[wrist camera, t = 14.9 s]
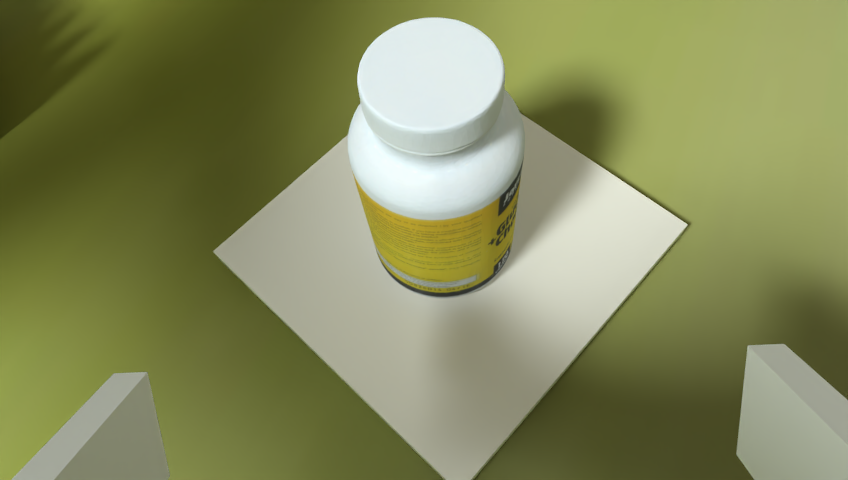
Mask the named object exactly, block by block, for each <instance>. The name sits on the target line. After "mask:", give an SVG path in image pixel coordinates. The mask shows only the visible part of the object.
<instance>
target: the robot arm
mask: <svg viewBox="0 0 848 480" xmlns="http://www.w3.org/2000/svg"><path fill="white" fill-rule="evenodd" d="M736 455H737V456H738V458H739V459H740V460H741V462H742V463H743V465H744V466H745V467H746V469H747V470H748V472H749V473H750V474H751V476H752V477H753V479H754V480H848V400H847V399H846V398H845V397H844V396H842V395H841V394H840V393H839V392H838V391H837V390H836V389H835V388H833V387H832V386H831V385H830V384H829V383H828V382H827V381H826V380H824V379H823V378H822V377H821V376H820V375H819V374H818V373H817V372H815V371H814V370H813V369H812V368H811V367H810V366H809V365H807V364H806V363H805V362H804V361H803V360H802V359H801V358H800V357H798V356H797V355H796V354H795V353H794V352H793V351H792V350H791V349H789V348H788V347H787V346H786V345H785V344H769V345H748V347H747V357H746V366H745V376H744V386H743V395H742V405H741V414H740V424H739V434H738V443H737V453H736ZM169 477H170V473H169V469H168V464H167V459H166V455H165V450H164V446H163V441H162V436H161V432H160V427H159V423H158V418H157V413H156V409H155V404H154V400H153V395H152V391H151V386H150V381H149V377H148V372H136V373H114V374H113V375H112V376H111V377H110V378H109V379H108V380H107V381H106V382H105V383H104V384H103V385H102V386H101V387H100V388H99V389H98V390H97V391H96V392H95V393H94V394H93V396H92V397H91V398H90V399H89V400H88V401H87V402H86V403H85V404H84V405H83V406H82V407H81V408H80V409H79V410H78V411H77V412H76V413H75V414H74V415H73V416H72V417H71V418H70V419H69V420H68V421H67V422H66V424H65V425H64V426H63V427H62V428H61V429H60V430H59V431H58V432H57V433H56V434H55V435H54V436H53V437H52V438H51V439H50V440H49V441H48V442H47V443H46V444H45V445H44V446H43V447H42V448H41V449H40V450H39V451H38V453H37V454H36V455H35V456H34V457H33V458H32V459H31V460H30V461H29V462H28V463H27V464H26V465H25V466H24V467H23V468H22V469H21V470H20V471H19V472H18V473H17V474H16V475H15V476H14V477H13V478H12V479H11V480H168V478H169Z"/></svg>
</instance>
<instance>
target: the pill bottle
mask: <svg viewBox="0 0 848 480" xmlns="http://www.w3.org/2000/svg"><path fill="white" fill-rule="evenodd" d="M357 84H358V91H359V96H360V102H361V103H360V104H359V106H358V108H357V109H356V111H355V113H354V116H353V118H352V121H351V124H350V128H349V133H348V155H349V160H350V165H351V169H352V172H353V176H354V179H355V183H356V186H357V189H358V192H359V196H360V199H361V202H362V206H363V209H364V212H365V215H366V219H367V222H368V225H369V228H370V231H371V235H372V238H373V241H374V245H375V248H376V251H377V254H378V257H379V259H380V261H381V263H382V265H383V267H384V268H385V270H386V271H387V272H388V274H389V275H390V276H391V277H392V278H393V279H394V280H395V281H396V282H397V283H398V284H400V285H401V286H403V287H404V288H406V289H407V290H409V291H411V292H414V293H416V294H419V295H422V296H426V297H431V298H454V297H460V296H463V295H467V294H470V293H472V292H474V291H476V290H478V289H480V288H482V287H483V286H485V285H486V284H488V283H489V282H490V281H491V280H492V279H493V278H494V277H495V276H496V275H497V274H498V273H499V272H500V270H501V269H502V267H503V266H504V264H505V262H506V261H507V259H508V256H509V254H510V250H511V247H512V242H513V235H514V227H515V219H516V211H517V203H518V195H519V187H520V180H521V172H522V166H523V159H524V150H525V131H524V124H523V121H522V117H521V114H520V112H519V110H518V107H517V106H516V104H515V102H514V100H513V99H512V98H511V96H510V95H509V94H508V92H507V91H506V90H505V89H504V84H505V68H504V63H503V60H502V57H501V54H500V52H499V50H498V48H497V47H496V45H495V44H494V43H493V42H492V40H491V39H490V38H489V37H488V36H486V35H485V34H484V33H483V32H481V31H480V30H479V29H477V28H475V27H473V26H471V25H469V24H466V23H464V22H461V21H458V20H454V19H448V18H421V19H415V20H410V21H407V22H404V23H401V24H399V25H397V26H394V27H392V28H391V29H389V30H387V31H386V32H384V33H383V34H381V35H380V36H379V37H378V38H376V39H375V40H374V41H373V42H372V43H371V45H370V46H369V47H368V48H367V50H366V52H365V53H364V55H363V57H362V59H361V61H360V64H359V69H358V74H357Z"/></svg>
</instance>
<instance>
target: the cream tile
mask: <svg viewBox="0 0 848 480" xmlns="http://www.w3.org/2000/svg"><path fill="white" fill-rule="evenodd" d="M520 114H521V113H520ZM521 117H522V121H523V124H524V131H525V150H524V159H523V166H522V172H521V180H520V187H519V195H518V203H517V211H516V219H515V227H514V235H513V242H512V247H511V250H510V254H509V256H508V259H507V261H506V262H505V264H504V266H503V267H502V269H501V270H500V272H499V273H498V274H497V275H496V276H495V277H494V278H493V279H492V280H491V281H490V282H489V283H488V284H486V285H485V286H483V287H482V288H480V289H478V290H476V291H474V292H472V293H470V294H467V295H463V296H460V297H454V298H431V297H426V296H422V295H419V294H416V293H414V292H411V291H409V290H407V289H406V288H404V287H403V286H401V285H400V284H398V283H397V282H396V281H395V280H394V279H393V278H392V277H391V276H390V275H389V274H388V272H387V271H386V270H385V268H384V267H383V265H382V263H381V261H380V259H379V257H378V254H377V251H376V248H375V245H374V241H373V238H372V235H371V231H370V228H369V225H368V222H367V219H366V215H365V212H364V209H363V206H362V202H361V199H360V196H359V192H358V189H357V186H356V183H355V179H354V176H353V172H352V169H351V165H350V160H349V155H348V135H347V136H346V137H345V138H343V139H342V140H341V141H340V142H339V143H338V144H337V145H335V146H334V147H333V148H332V149H331V150H330V151H328V152H327V153H326V154H325V155H324V156H323V157H321V158H320V159H319V160H318V161H317V162H316V163H315V164H313V165H312V166H311V167H310V168H309V169H308V170H306V171H305V172H304V173H303V174H302V175H301V176H299V177H298V178H297V179H296V180H295V181H294V182H293V183H291V184H290V185H289V186H288V187H287V188H286V189H284V190H283V191H282V192H281V193H280V194H279V195H278V196H276V197H275V198H274V199H273V200H272V201H271V202H269V203H268V204H267V205H266V206H265V207H264V208H262V209H261V210H260V211H259V212H258V213H257V214H256V215H254V216H253V217H252V218H251V219H250V220H249V221H247V222H246V223H245V224H244V225H243V226H242V227H240V228H239V229H238V230H237V231H236V232H235V233H234V234H232V235H231V236H230V237H229V238H228V239H227V240H225V241H224V242H223V243H222V244H221V245H220V246H219V247H217V248H216V249H215V250H214V251H213V252H214V253H215V255H216V256H217V257H218V258H219V259H220V261H221V262H222V263H223V264H225V265H226V266H227V267H228V268H229V269H230V270H231V271H232V272H233V273H234V274H235V275H236V276H237V277H238V278H239V279H240V280H241V281H242V282H243V283H244V284H245V285H246V286H247V287H248V288H249V289H250V290H251V291H252V292H253V293H254V294H255V295H256V296H257V297H258V298H259V299H260V300H261V301H262V302H263V303H264V304H265V305H266V306H267V307H268V308H269V309H270V310H271V311H272V312H274V313H275V314H276V315H277V316H278V317H279V318H280V319H281V320H282V321H283V322H284V323H285V324H286V325H287V326H288V327H289V328H290V329H291V330H292V331H293V332H294V333H295V334H296V335H297V336H298V337H299V338H300V339H301V340H302V341H303V342H304V343H305V344H306V345H307V346H308V347H309V348H310V349H311V350H312V351H313V352H314V353H315V354H316V355H317V356H318V357H319V358H320V359H321V360H322V361H324V362H325V363H326V364H327V365H328V366H329V367H330V368H331V369H332V370H333V371H334V372H335V373H336V374H337V375H338V376H339V377H340V378H341V379H342V380H343V381H344V382H345V383H346V384H347V385H348V386H349V387H350V388H351V389H352V390H353V391H354V392H355V393H356V394H357V395H358V396H359V397H360V398H361V399H362V400H363V401H364V402H365V403H366V404H367V405H368V406H369V407H370V408H371V409H373V410H374V411H375V412H376V413H377V414H378V415H379V416H380V417H381V418H382V419H383V420H384V421H385V422H386V423H387V424H388V425H389V426H390V427H391V428H392V429H393V430H394V431H395V432H396V433H397V434H398V435H399V436H400V437H401V438H402V439H403V440H404V441H405V442H406V443H407V444H408V445H409V446H410V447H411V448H412V449H413V450H414V451H415V452H416V453H417V454H418V455H419V456H420V457H421V458H423V459H424V460H425V461H426V462H427V463H428V464H429V465H430V466H431V467H432V468H433V469H434V470H435V471H436V472H437V473H438V474H439V475H440V476H441V477H442V478H443V479H444V480H474V478H475V477H476V476H477V475H478V474H479V472H480V471H481V470H482V469H483V468H484V467H485V465H486V464H487V463H488V462H489V461H490V459H491V458H492V457H493V456H494V455H495V454H496V452H497V451H498V450H499V449H500V448H501V447H502V445H503V444H504V443H505V442H506V441H507V439H508V438H509V437H510V436H511V435H512V434H513V432H514V431H515V430H516V429H517V428H518V426H519V425H520V424H521V423H522V422H523V421H524V419H525V418H526V417H527V416H528V415H529V414H530V412H531V411H532V410H533V409H534V408H535V406H536V405H537V404H538V403H539V402H540V401H541V399H542V398H543V397H544V396H545V395H546V393H547V392H548V391H549V390H550V389H551V388H552V386H553V385H554V384H555V383H556V382H557V381H558V379H559V378H560V377H561V376H562V375H563V373H564V372H565V371H566V370H567V369H568V368H569V366H570V365H571V364H572V363H573V362H574V360H575V359H576V358H577V357H578V356H579V355H580V353H581V352H582V351H583V350H584V349H585V348H586V346H587V345H588V344H589V343H590V342H591V340H592V339H593V338H594V337H595V336H596V335H597V333H598V332H599V331H600V330H601V329H602V327H603V326H604V325H605V324H606V323H607V322H608V320H609V319H610V318H611V317H612V316H613V315H614V313H615V312H616V311H617V310H618V309H619V307H620V306H621V305H622V304H623V303H624V302H625V300H626V299H627V298H628V297H629V296H630V294H631V293H632V292H633V291H634V290H635V289H636V287H637V286H638V285H639V284H640V283H641V282H642V280H643V279H644V278H645V277H646V276H647V274H648V273H649V272H650V271H651V270H652V269H653V267H654V266H655V265H656V264H657V263H658V261H659V260H660V259H661V258H662V257H663V256H664V254H665V253H666V252H667V251H668V250H669V249H670V247H671V246H672V245H673V244H674V243H675V241H676V240H677V239H678V238H679V237H680V236H681V234H682V233H683V231H684V230H685V228H686V227H687V225H688V224H686V223H685V222H683V221H682V220H680V219H679V218H677V217H676V216H674V215H673V214H671V213H670V212H668V211H667V210H665V209H664V208H662V207H661V206H659V205H658V204H656V203H655V202H653V201H652V200H650V199H649V198H647V197H646V196H644V195H643V194H641V193H640V192H638V191H637V190H635V189H634V188H632V187H631V186H629V185H628V184H626V183H625V182H623V181H622V180H620V179H619V178H617V177H616V176H614V175H613V174H611V173H610V172H608V171H607V170H605V169H604V168H602V167H601V166H599V165H598V164H596V163H595V162H593V161H592V160H590V159H589V158H587V157H586V156H584V155H583V154H581V153H580V152H578V151H577V150H575V149H574V148H572V147H571V146H569V145H568V144H566V143H565V142H563V141H562V140H560V139H559V138H557V137H556V136H554V135H553V134H551V133H550V132H548V131H547V130H545V129H544V128H542V127H541V126H539V125H538V124H536V123H535V122H533V121H532V120H530V119H528V118H527V117H525V116H524V115H522V114H521Z"/></svg>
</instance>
